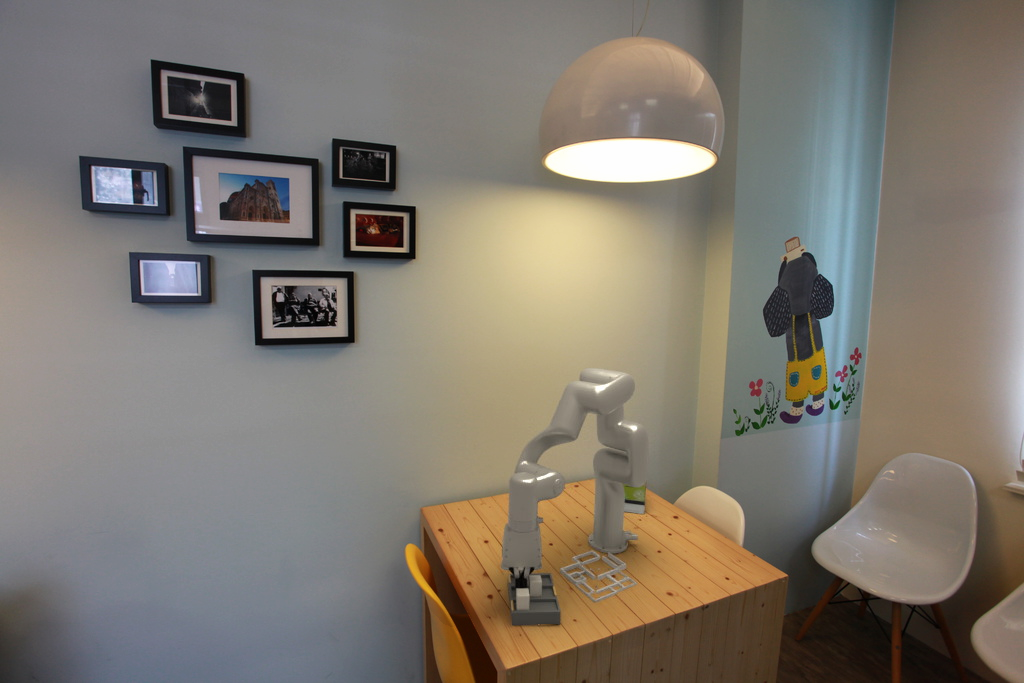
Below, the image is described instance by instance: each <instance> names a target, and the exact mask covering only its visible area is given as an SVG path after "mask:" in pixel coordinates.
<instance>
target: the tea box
mask: <svg viewBox="0 0 1024 683" xmlns="http://www.w3.org/2000/svg"><path fill="white" fill-rule="evenodd" d="M647 480H648V479H647ZM647 480H646V482H645V484H644V485H643V486H641V487H632V486H628V485H625V484H622V485H623V487H624V491H625V502H624V513H625V512H626V513H632V514H639V515H644V514H645V508H646V495H647V494H646V493H647V482H648V481H647Z"/></svg>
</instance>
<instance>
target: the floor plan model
mask: <svg viewBox="0 0 1024 683" xmlns="http://www.w3.org/2000/svg"><path fill="white" fill-rule="evenodd" d="M590 555H592V556H594V557H593V558H589V559H587V560H584V561H580V560H579V559H582V558H585V557H587V556H590ZM600 560H601V561H603V562H604V563H606V564H607V565H608V566H610V567H611V568H613V569H610V568H607V569H606V568H604V571H605V572H604V573H600V574H598V575H595V574H594V573H593V572H595V570H594V569H593V568H589V569H587V568H586V567H585V566H586V565H589V564H591V563H594V562H597V561H600ZM572 561H573V562H574V563H571V564H569V565H567V566H563V567H561V568H560V569H559V573H560V574H561V575H562V576H564V577H565V578H566V579H567V580H568V581H570V583H572V584H573V585H575V587H576V588H577V589H578V590H579V591H580V592H582V594H584V595H585V596H586V597H587V598H589V599H590V600H591V601H592V602H593V603H598V602H601V601H604V600H606V599H608V598H610V597H613V596H615V594H616V595H618V593H620V592H622V591H624V590H627V589H629V588H632V587H634V586H636V585H637V582H636V581H635V580H634V579H632V578H631V577H629V576H628V575H626V574H625V573H624V572H622V571H623V570H626V569H627V563H625V562H624V561H622V560H621V559H620V558H618V557H617V556H615V555H614V554H612V553H609V552H608V553H607V557H606V556H605V555H602V558H601V555H600V554H598V553H597V552H596V551H594V550H593V549H592V550H589V551H586V552H584V553H580V554H578V555H575V556H573V557H572ZM616 563H617V564H616ZM574 569H580V570H581V571H574V572H571V573H567V572H569V571H571V570H574ZM590 570H591V571H590ZM597 570H601V568H599V567H597ZM607 570H608V571H607ZM592 571H593V572H592ZM585 574H586V575H587V576H588V577H589V578H590V579H591V580H592V581H594V580H597V581H600V580H601V581H602V580H603V579H606V578H607V579H608V580H609V581H610V582H611V584H609V585H607V586H604V587H601V588H599V586H597V584H596V586H595V588H596V589H597V588H599V589H597V590H595V589H593V588H592V587H591V586H589V584H587V583H588V582H587V579H588V578H587V577H585V576H584V575H585ZM616 574H620V575H622V576H623V577H622V579H620V580H619V578H618V577H617V578H614V577H613V575H616ZM576 577H577V578H576ZM627 581H630V582H631V584H628V585H625V586H624V584H623V583H625V582H627ZM581 585H582V586H584V587H585V588H586V589H587V590H588V591H589V592H587V591H586V590H584V589H583V588H582V587H580V586H581ZM615 587H619V588H618V589H614V588H615ZM608 590H609V591H611V592H610V593H608V594H605V595H603V596H599V597H598V598H594V597H593V596H592V595H593V594H594V593H595V594H596V595H599V594H601V593H603V592H605V591H606V592H607V591H608Z"/></svg>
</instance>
